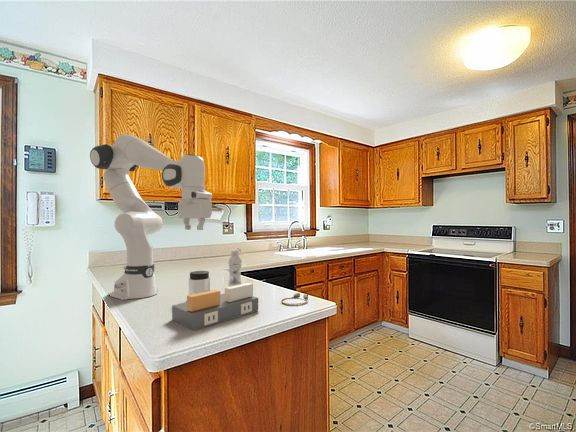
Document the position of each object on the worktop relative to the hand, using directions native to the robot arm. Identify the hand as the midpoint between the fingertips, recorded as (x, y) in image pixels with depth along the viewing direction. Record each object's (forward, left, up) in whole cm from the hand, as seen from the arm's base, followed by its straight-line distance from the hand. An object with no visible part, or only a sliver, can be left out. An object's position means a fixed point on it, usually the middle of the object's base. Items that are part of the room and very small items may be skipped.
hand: (193, 229), depth 117 cm
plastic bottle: (0, +28, -31) cm, 42 cm away
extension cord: (+33, +26, -32) cm, 53 cm away
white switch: (+19, +3, -26) cm, 32 cm away
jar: (-7, +11, -31) cm, 34 cm away
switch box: (+11, -2, -31) cm, 33 cm away
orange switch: (+15, -11, -26) cm, 32 cm away
